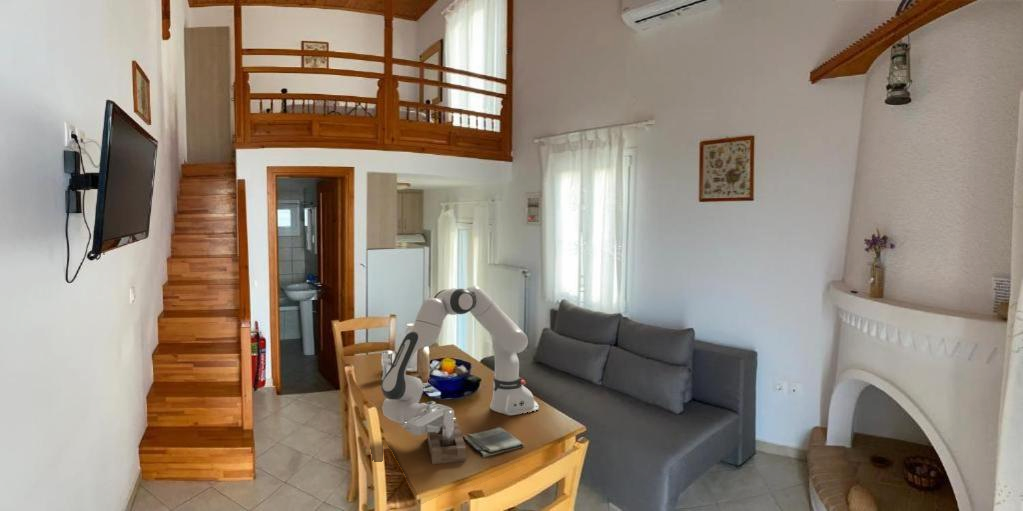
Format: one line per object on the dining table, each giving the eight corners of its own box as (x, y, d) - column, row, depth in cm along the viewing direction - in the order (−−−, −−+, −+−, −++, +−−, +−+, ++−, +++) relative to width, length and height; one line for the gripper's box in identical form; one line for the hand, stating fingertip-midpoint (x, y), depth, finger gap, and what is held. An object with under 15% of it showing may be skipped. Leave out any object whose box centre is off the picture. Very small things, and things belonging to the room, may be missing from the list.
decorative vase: (398, 362, 284) (399, 320, 281) (429, 362, 286) (430, 321, 283) (394, 373, 266) (395, 328, 264) (427, 373, 268) (428, 328, 266)
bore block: (427, 438, 192) (427, 426, 192) (457, 435, 195) (457, 423, 195) (432, 464, 173) (432, 450, 173) (465, 460, 176) (466, 447, 176)
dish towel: (500, 430, 203) (500, 422, 203) (524, 448, 188) (524, 440, 188) (460, 439, 193) (460, 432, 193) (482, 460, 178) (482, 451, 178)
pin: (449, 449, 182) (450, 407, 181) (454, 453, 179) (456, 411, 177) (440, 451, 180) (441, 410, 178) (445, 456, 177) (446, 414, 175)
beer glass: (382, 377, 258) (382, 350, 257) (395, 377, 259) (396, 350, 257) (380, 382, 251) (380, 353, 250) (393, 382, 252) (394, 354, 250)
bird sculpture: (410, 385, 249) (410, 324, 245) (434, 383, 252) (433, 323, 248) (412, 394, 238) (411, 330, 235) (436, 392, 241) (435, 328, 238)
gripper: (399, 417, 176) (429, 427, 169) (435, 399, 194) (463, 407, 187) (399, 434, 177) (428, 444, 170) (434, 415, 194) (463, 423, 188)
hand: (447, 425), depth 179 cm, fingers open, 8 cm apart
